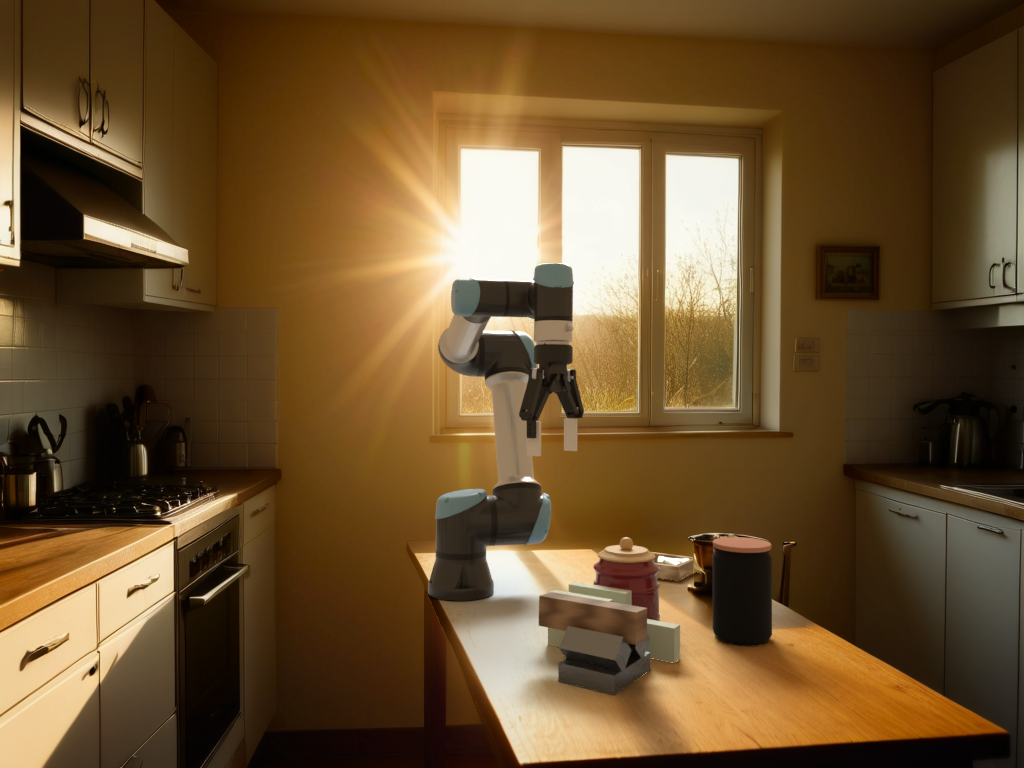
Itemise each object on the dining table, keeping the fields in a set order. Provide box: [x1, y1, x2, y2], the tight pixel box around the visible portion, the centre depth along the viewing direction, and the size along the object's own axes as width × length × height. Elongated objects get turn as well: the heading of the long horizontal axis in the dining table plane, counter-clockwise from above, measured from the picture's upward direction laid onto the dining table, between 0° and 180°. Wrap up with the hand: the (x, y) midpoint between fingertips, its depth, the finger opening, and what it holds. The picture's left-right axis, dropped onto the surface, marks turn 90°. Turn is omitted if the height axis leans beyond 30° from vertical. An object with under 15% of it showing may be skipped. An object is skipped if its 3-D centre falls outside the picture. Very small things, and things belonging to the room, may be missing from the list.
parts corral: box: [650, 551, 693, 581], centre depth 200 cm, size 14×13×4 cm
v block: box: [557, 626, 651, 696], centre depth 127 cm, size 10×13×8 cm
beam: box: [547, 581, 681, 664], centre depth 140 cm, size 23×10×10 cm, turn 55°
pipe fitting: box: [657, 556, 690, 566], centre depth 200 cm, size 8×4×7 cm
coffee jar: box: [712, 536, 773, 647], centre depth 147 cm, size 11×11×18 cm
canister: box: [592, 536, 661, 621], centre depth 154 cm, size 13×13×18 cm
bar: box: [538, 591, 647, 645], centre depth 129 cm, size 18×4×5 cm, turn 56°
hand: (552, 453), depth 152 cm, fingers open, 13 cm apart
